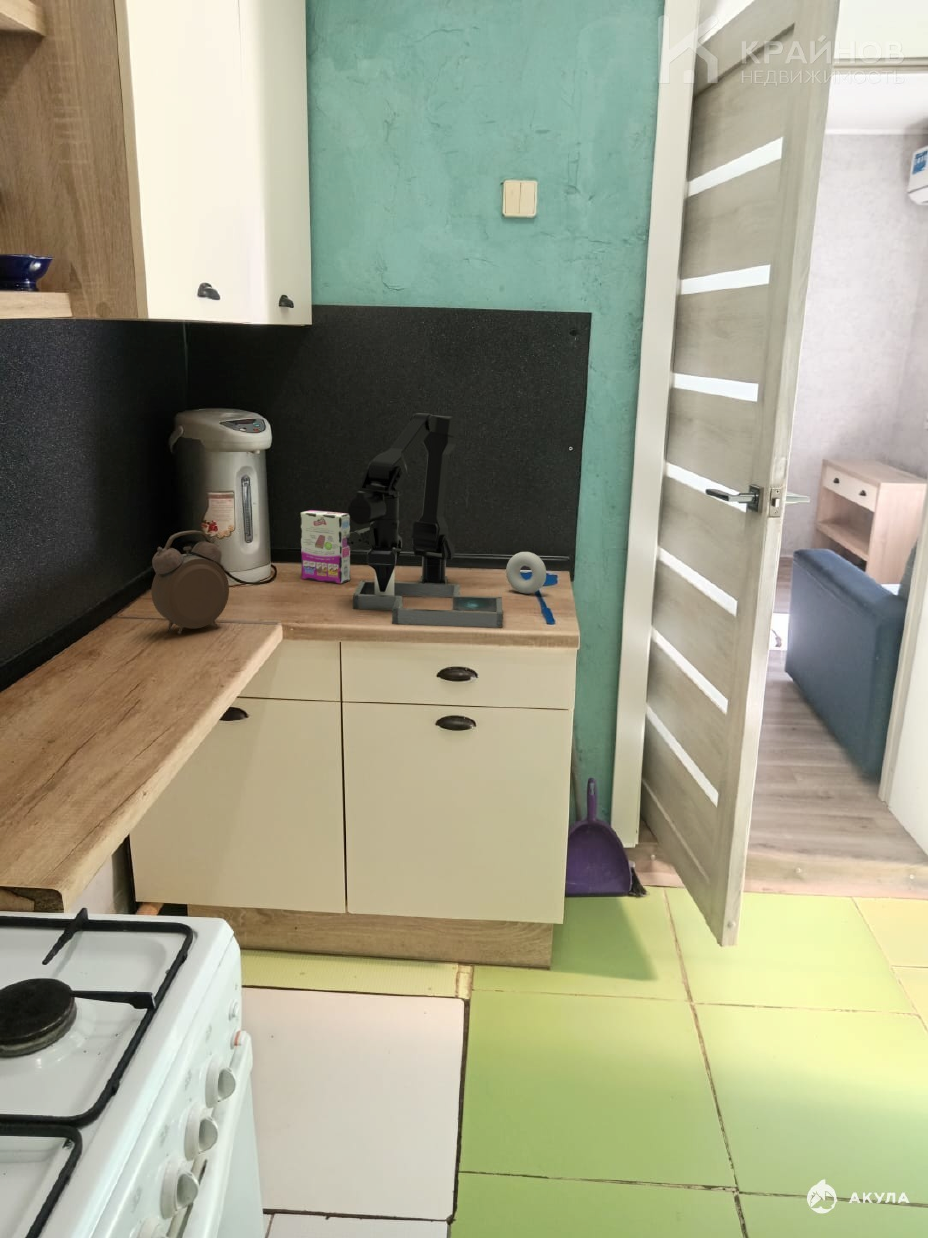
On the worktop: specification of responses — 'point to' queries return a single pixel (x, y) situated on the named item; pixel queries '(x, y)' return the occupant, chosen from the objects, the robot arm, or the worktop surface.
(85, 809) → the worktop surface
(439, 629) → the worktop surface
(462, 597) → the channel
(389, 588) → the peg
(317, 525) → the candy bar box
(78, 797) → the worktop surface
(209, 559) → the alarm clock
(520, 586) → the donut
